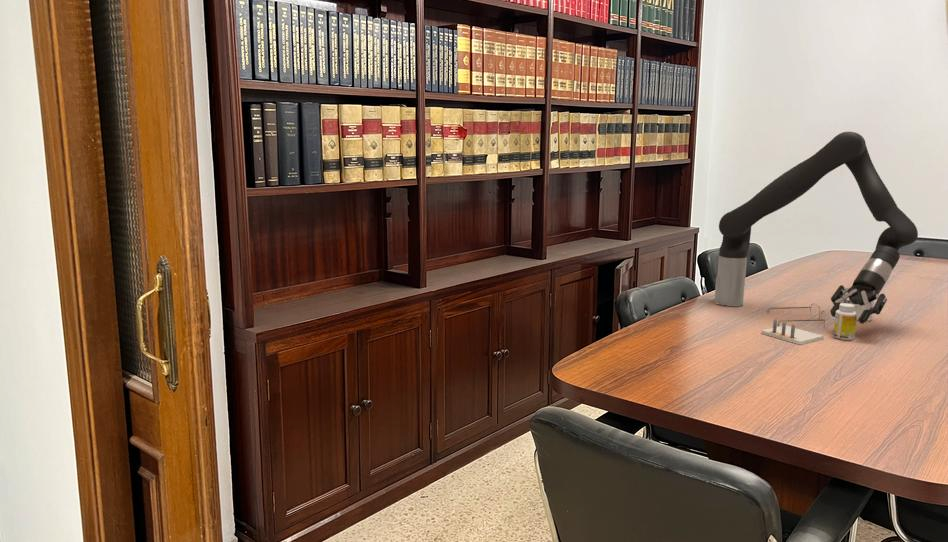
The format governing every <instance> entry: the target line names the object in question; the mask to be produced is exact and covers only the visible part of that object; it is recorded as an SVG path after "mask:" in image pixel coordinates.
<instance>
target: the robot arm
mask: <svg viewBox="0 0 948 542" xmlns="http://www.w3.org/2000/svg"><path fill="white" fill-rule="evenodd" d="M843 165H845V166H846V167H847V169H848V170H849V171H850V172H851V174H852V176H853V178H854V179H855V182H856V184H857V186H858V188H859V191H860V193H861V196H862V198H863V201H864V203H865V204H866V206H867V207H868V209H869V212H870V213H871V214H872V217H873V218H874V220H875V221H876V222H884V223H886V224H887V225H888V227H886V228H885V229H884V230H883V231H882V232H881V234H880V235H879V237H878V239H877V242H876V246H875V250H874V251H873V253H872V254H871V255H870V257H869V259H868V260H867V261H866V262H865V264H864V265H863V267H862V268H861V269H860V271H859V273H858V274H857V275H856V277H855V279H854V280H853V282H852V285H851V286H850V287H849V288H848V287H844V285H839V286H838V287H837V289H836V290H835V292H834V293H833V294H832V296H831V297H830V301H831V303H832V304H833V306H832V308H831V309H830V311H829V312H830V315H831V316H832V317H833V318H835V314H836V311H837V310H839V305H840V304H841V303H847V304H851V303H853V304H859V305H861V306H863V305H865V308H866V310H864V311H863V312H862V314H861V316H860V317H859V319H858V321H857V322H859V324H861V325H864V324H865V323H867V322H866V321H867V320H868V318H869V317H870V315H872V316H873V314H875V315H877V316H878V315H880V314H881V312H882V310H883V308H884V307H885V305H886V303H887V301H888V298H887V297H886V295H885V293H883V292H882V293H881V291H882V289H883V288H884V287H885V285H886V283H887V282H888V280H889V279H890V277H891V275H892V271H893V270H894V269H895V267H896V265H897V264H898V263H899V260H900V257H901V256H900V252H899V250H900V249H902V248H903V247H905V246H909V245H911V244H913V243H915V242H916V241H917V239H918V236H919V233H918V231H919V230H918V228H917V227H916V224H915V223H914V221H912V220H911V219H910V218H909V217H908V216H907V215H906V214H905V213H904V212H903V211H902V210H901V209H900V208H899V207H898V204H897V203H896V201H895V200H894V197H893V196H892V194H891V193H890V191H889V189H888V188H887V186H886V184H885V183H884V182H883V179H882V178H881V176H880V175H879V173H878V171H877V169H876V167H875V165H874V163H873V162H872V159H871V155H870V154H869V150H868V148H867V144H866V140H865V138H864V136H862V135H861V134H860V133H858V132H856V131H855V132H854V131H843V132H840V133H838V134H837V135H836V136H835V137H833V138H831V140H830V141H829V142H827V143H826V144H825V145H824V146H822V148H820V149H819V150H818V151H817V152H815V153H814V154H813V155H811V156H810V157H809V158H807V159H805V160H803V161H802V162H800V163H798V164H797V165H795V166H793V167H791V168H790V169H788V170H787V171H785V172H784V173H782V174H781V175H780V176H778V177H776V178H775V179H773V180H772V181H771V182H769V184H767V185H766V186H765V187H764V188H762V189H761V190H760V191H759V192H758V193H756V195H754V196H753V197H752V198H750V199H749V200H748V201H746V202H745V203H743V204H741V205H740V206H738V207H736V208H734V209H732V210H730V211H729V212H726V213H724V214H723V215H722V217H721V218H720V220H719V223H718V230H719V232H720V234H721V235H722V242H721V245H720V247H719V251H718V265H717V276H716V278H715V286H714V287H715V288H714V289H715V290H714V302H713V303H714V304H715V303H718V304H717V305H720V304H721V305H720V306H724V305H726V306H725V307H741V305H742V306H744V299H745V298H744V296H745V285H746V276H747V274H746V272H747V261H748V260H747V259H748V252H749V248H750V242H751V234H752V226H753V225H755V224H756V223H757V222H758V221H760V220H762V219H763V218H765V217H767V216H769V215H770V214H772V213H774V212H777V211H778V210H781V209H783V208H784V207H786V206H788V205H789V204H791V203H792V202H794V201H796V200H797V199H799V198H800V197H802V196H804V195H805V193H807V192H808V191H809V190H811V189H812V188H813V187H814V186H815V185H817V183H818V182H819V181H820V180H821V179H823V178H824V177H826V176H827V174H829V173H830V172H832V171H833V170H836V169H837V168H839V167H841V166H843ZM872 301H874V305H873V307H872V306H871V303H870V302H872ZM875 301H876V302H875Z"/></svg>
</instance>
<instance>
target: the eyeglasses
mask: <svg viewBox="0 0 948 542" xmlns="http://www.w3.org/2000/svg"><path fill="white" fill-rule="evenodd" d="M813 305H815V306H817V307H818V314H819V315H818V318H817V319H799V320H798V319H788V320H787V319H786V320H785V319H783V320H779V321H777V327H779V326H780V323H781V322H782V323H783V322H817V321H818V322H819V321H820V322H822V323H821V324H822V325H823V328H825V326H826V323H825V321H826V317H825V316H826V312H825V310H824V309H823V308H822V307H820V306H818V305H817V304H816V303H811V305H810V306H800V307H799V306H797V307H795V306H793V307H790V306H789V307H769V308H768V309H767V311H766V313H767V314H770V310H775V309H776V310H777V309H778V310H779V309H782V310H783V309H809V311H810V312H809V313H810V316H811V315H812V316H813V314H812V306H813ZM820 309H821V310H822V311H821V310H820ZM820 318H823V319H820Z"/></svg>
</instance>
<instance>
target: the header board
mask: <svg viewBox="0 0 948 542" xmlns="http://www.w3.org/2000/svg"><path fill="white" fill-rule="evenodd" d="M761 333H762V335H765V334H766V335H765V336H768V335H769V337H771V336H773V337H772V338H775V337H776V339H778V338H779V340H783V341H785V340H786V341H785V342H788V341H789V343H792V342H793V344H795V343H796V345H799V344H802V345H805V343H806V344H808V343H809V342H810V343H813V341H814V342H817V341H818V342H819V341H822V340H824V338H825V336H824V335H821V334H818V333H814V332H810V331H806V330H804V329H800V328H796V324H793V323H792V324H791V325H790V326H789V325H787V321H783V322H782V324H781V326H780V325H779V326H778V319H773V325H772V327H771V328H766V329H762V330H761Z"/></svg>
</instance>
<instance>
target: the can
mask: <svg viewBox="0 0 948 542" xmlns="http://www.w3.org/2000/svg"><path fill="white" fill-rule="evenodd" d="M870 303H871V306H872V307H874V305H875V300H874V301H872V302H870ZM851 304H852V305H854V306H855V308H854V311H855V312H856V313H857V318H856V322H859V321H858V319H859V317H860V316H861V314H862V312H863V311H864V310H866V308H865V305H863V306H861V305H859V304H853V303H851ZM872 320H873V314H872V315H870V317H869V318H868V320H867V321H868V322H870V321H872Z"/></svg>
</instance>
